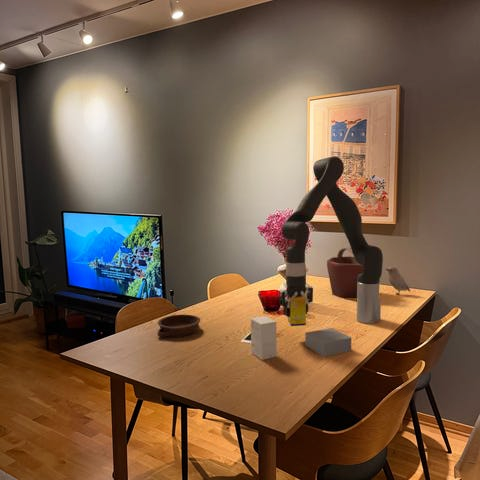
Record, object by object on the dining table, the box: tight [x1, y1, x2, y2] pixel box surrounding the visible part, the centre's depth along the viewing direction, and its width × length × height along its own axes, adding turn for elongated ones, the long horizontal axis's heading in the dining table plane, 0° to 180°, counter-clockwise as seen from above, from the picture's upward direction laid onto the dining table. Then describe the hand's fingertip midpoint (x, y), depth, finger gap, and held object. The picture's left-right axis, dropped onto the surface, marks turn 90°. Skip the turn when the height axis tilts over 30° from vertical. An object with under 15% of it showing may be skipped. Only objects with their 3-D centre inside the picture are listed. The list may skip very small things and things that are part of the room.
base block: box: [304, 327, 352, 357], centre depth 169 cm, size 12×12×5 cm
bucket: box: [326, 247, 364, 300], centre depth 241 cm, size 24×22×25 cm
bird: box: [384, 266, 411, 296], centre depth 240 cm, size 5×14×15 cm, turn 82°
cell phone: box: [240, 331, 251, 344], centre depth 183 cm, size 8×16×1 cm, turn 158°
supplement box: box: [287, 296, 307, 327], centre depth 177 cm, size 6×6×11 cm
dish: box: [157, 314, 201, 338], centre depth 190 cm, size 17×22×5 cm
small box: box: [250, 315, 278, 361], centre depth 163 cm, size 8×6×13 cm
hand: (296, 314), depth 177 cm, fingers closed on supplement box, 7 cm apart
